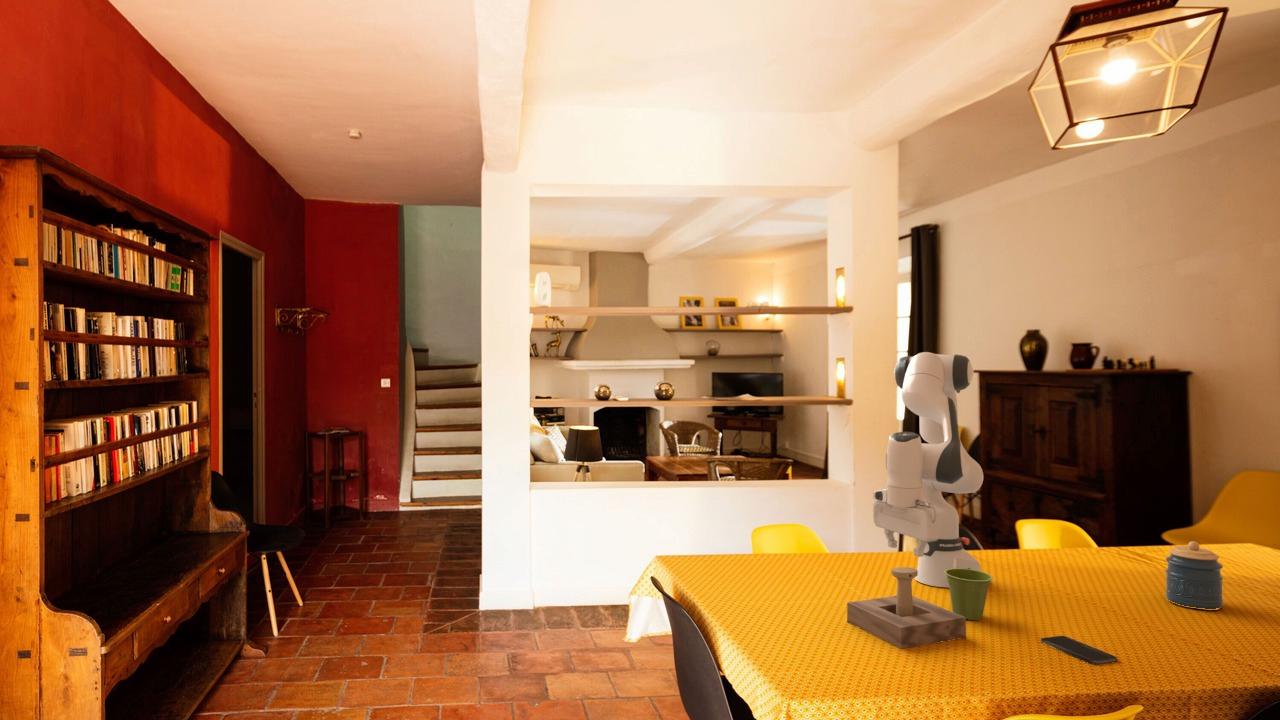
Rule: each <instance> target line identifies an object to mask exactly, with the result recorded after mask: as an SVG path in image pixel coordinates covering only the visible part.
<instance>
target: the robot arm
mask: <svg viewBox="0 0 1280 720" xmlns="http://www.w3.org/2000/svg"><path fill="white" fill-rule="evenodd" d="M973 370H974V369H973V365H972V364H971V361H970V359H969V358H968V357H967V355H962V354H953V355H952V354H941V353H940V354H938V353H934V352H929V351H923V352H919V353H917V354H916V355H914V356H913V355H912V356H911V355H907V356H903V357H900V358H899V359H897V361H896V363H895V366H894V370H893V376H894V380H895V383H896V386H898V387H899V388H900V389H902V390H901V397H902V398H901V399H902V401H903V403H904V405H905V407H906V408H907V409H908V410H909V411H911V412H912V413H913V414H914V415H916V416H918V417H919V434H918V433H915V432H912V431H899V432H894V433H892V434H890V435H889V438H888V442H887V447H886V449H887V450H886V453H885V469H886V471H887V481H886V488H883V489H879V490H875V491H873V492H872V493H873V495H872V496H873V497H872V498H873V499H874V500H873V505H872V506H873V507H872V520H873V523H874V526H875V527H877V528H882V529H884V530H883V531H884V535H885V538H886V539H887V547H889V548H891V549H894V548H897V547H898V540H896V539H895V535H894V533H898V534H901V535H904V536H908V537H910V538H914V539H916V543H917V547H915V548H913V555H914V556H915V557H918V561H917V568H916V570H918V575H917V576H916V577H914V579H915V581H917V582H919V583H921V584H924V585H927V586H931V587H938V588H949V583H948V581H947V575H946V574H945V573H944V571H945V570H947V569H952V568H964V569H972V570H977V571H981V570H982V569H981V564H980V562H979V560H978V559H977V558H975V557H974V556H973V555H972V554H970V553H969V552H968V551H967V550H965V549H964V545H967V546H968V545H969V544H970V542H971V540H970V539H969V538H968V537H960V535H959V531H960V530H959V527H960V526H959V521H960V520H959V519H960V515H959V513H958V510H957V509H956V508H955V507H954V506H953V505H952V504H951V503H949V502H947V501H946V500H945V498H944V497H943V494H942V492H943V493H952V494H959V495H961V494H970V493H971V494H972V493H973V494H975V493H976V492H977V491H978V490H979V489H980V488H981V487H982V485H983V481H984V472H983V469H982V467H981V465H980V464H979V462H977V461H976V460H975V459H974V458H972V457H971V455H970V454H969V453H968V452H967V450H966V449H965V447H964V446H963V443H962V441H961V437H960V428H959V419H958V416H959V415H958V400H957V394H960V393H961V391H962V390H966V389H967V388H968V387H969V386H971V385H970V384H971V382H972V379H973V376H974V371H973ZM956 393H957V394H956ZM921 438H922V439H923V440H924V441H925V442H926V443H922V439H921ZM963 544H964V545H963Z"/></svg>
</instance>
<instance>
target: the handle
mask: <svg viewBox="0 0 1280 720" xmlns="http://www.w3.org/2000/svg"><path fill="white" fill-rule="evenodd" d="M917 575H918V570H917V568H913V567H906V566H903V567H894V568H892V569H891V576H893V577H894V578H896V580H897V585H896V586H897V589H896V596H897V601H896V613H897V614H896V615H898V616H900V617H907V616H913V602H912V596H913V589H912V587H913V586H912V581H913V579H915V577H916V576H917Z"/></svg>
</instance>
